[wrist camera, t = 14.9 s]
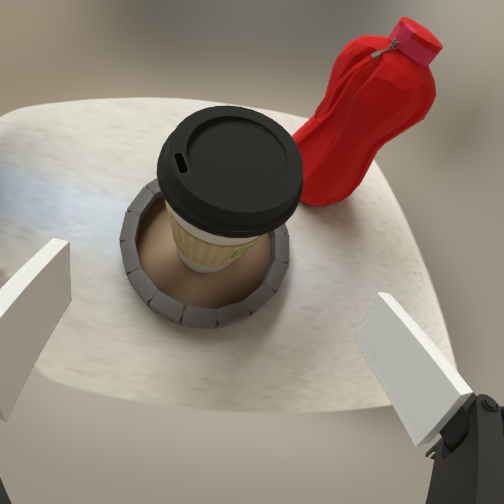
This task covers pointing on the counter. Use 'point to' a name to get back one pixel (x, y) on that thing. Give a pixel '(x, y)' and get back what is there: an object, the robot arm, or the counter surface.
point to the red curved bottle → (366, 108)
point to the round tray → (192, 282)
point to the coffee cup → (227, 183)
